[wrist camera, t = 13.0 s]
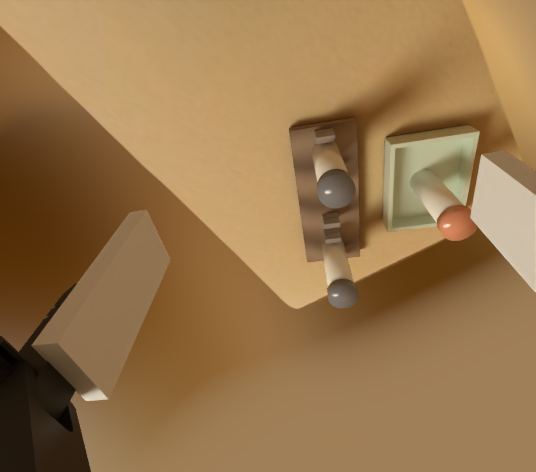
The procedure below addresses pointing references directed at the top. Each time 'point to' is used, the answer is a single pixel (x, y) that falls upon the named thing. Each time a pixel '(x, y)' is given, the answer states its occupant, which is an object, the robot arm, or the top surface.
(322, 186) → the fuse
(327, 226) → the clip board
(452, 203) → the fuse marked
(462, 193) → the tray
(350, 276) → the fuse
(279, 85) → the top surface
